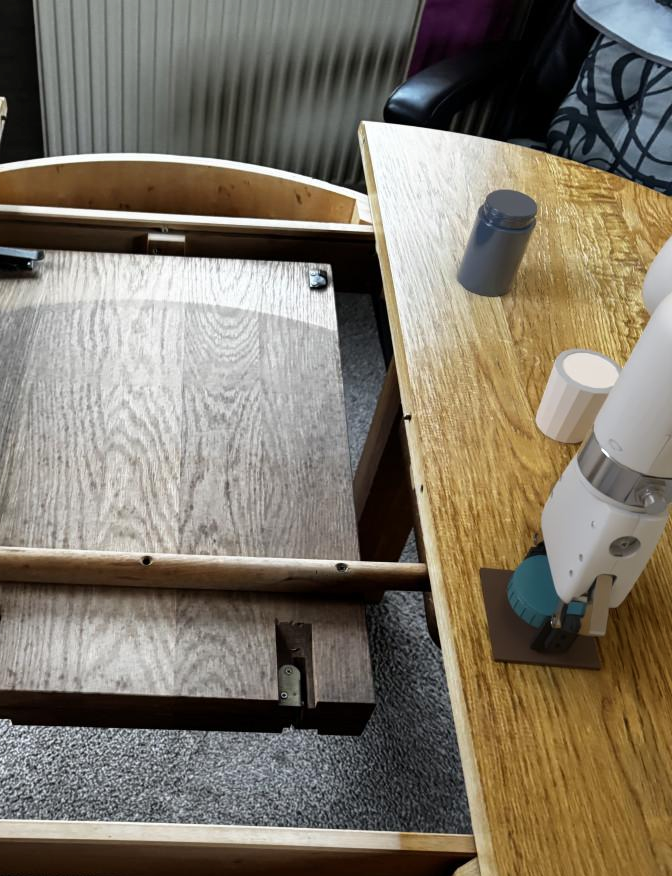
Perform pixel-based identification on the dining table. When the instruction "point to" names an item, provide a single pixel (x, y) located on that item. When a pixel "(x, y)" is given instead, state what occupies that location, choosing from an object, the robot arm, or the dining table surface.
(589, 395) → the white short cylinder
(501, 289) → the jar
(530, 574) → the lid
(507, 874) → the dining table surface
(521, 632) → the coaster
